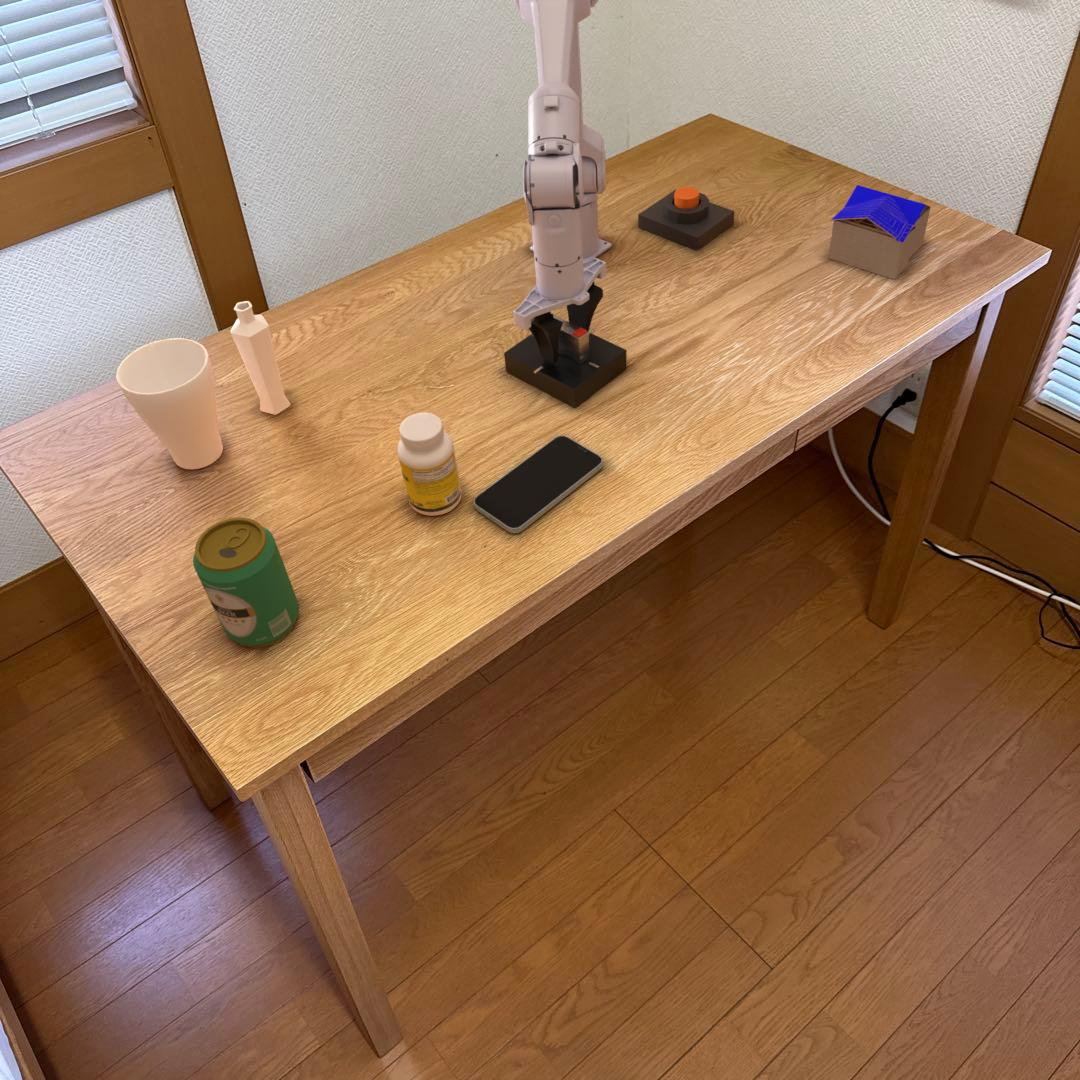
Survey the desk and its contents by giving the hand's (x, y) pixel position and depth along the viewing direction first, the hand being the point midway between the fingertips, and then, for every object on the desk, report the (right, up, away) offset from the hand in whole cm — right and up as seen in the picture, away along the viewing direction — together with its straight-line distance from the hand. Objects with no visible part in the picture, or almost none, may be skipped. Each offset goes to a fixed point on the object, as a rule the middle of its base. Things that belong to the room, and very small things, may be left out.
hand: (564, 348), depth 132 cm
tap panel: (0, -2, +3) cm, 3 cm away
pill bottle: (-15, -20, -12) cm, 27 cm away
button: (+18, +25, +22) cm, 38 cm away
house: (+45, +16, +16) cm, 50 cm away
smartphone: (-3, -18, -12) cm, 22 cm away
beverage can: (-32, -33, -23) cm, 51 cm away
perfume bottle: (-37, -7, +2) cm, 38 cm away
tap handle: (0, 0, 0) cm, 0 cm away
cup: (-45, -14, -3) cm, 47 cm away
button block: (+19, +23, +24) cm, 38 cm away
